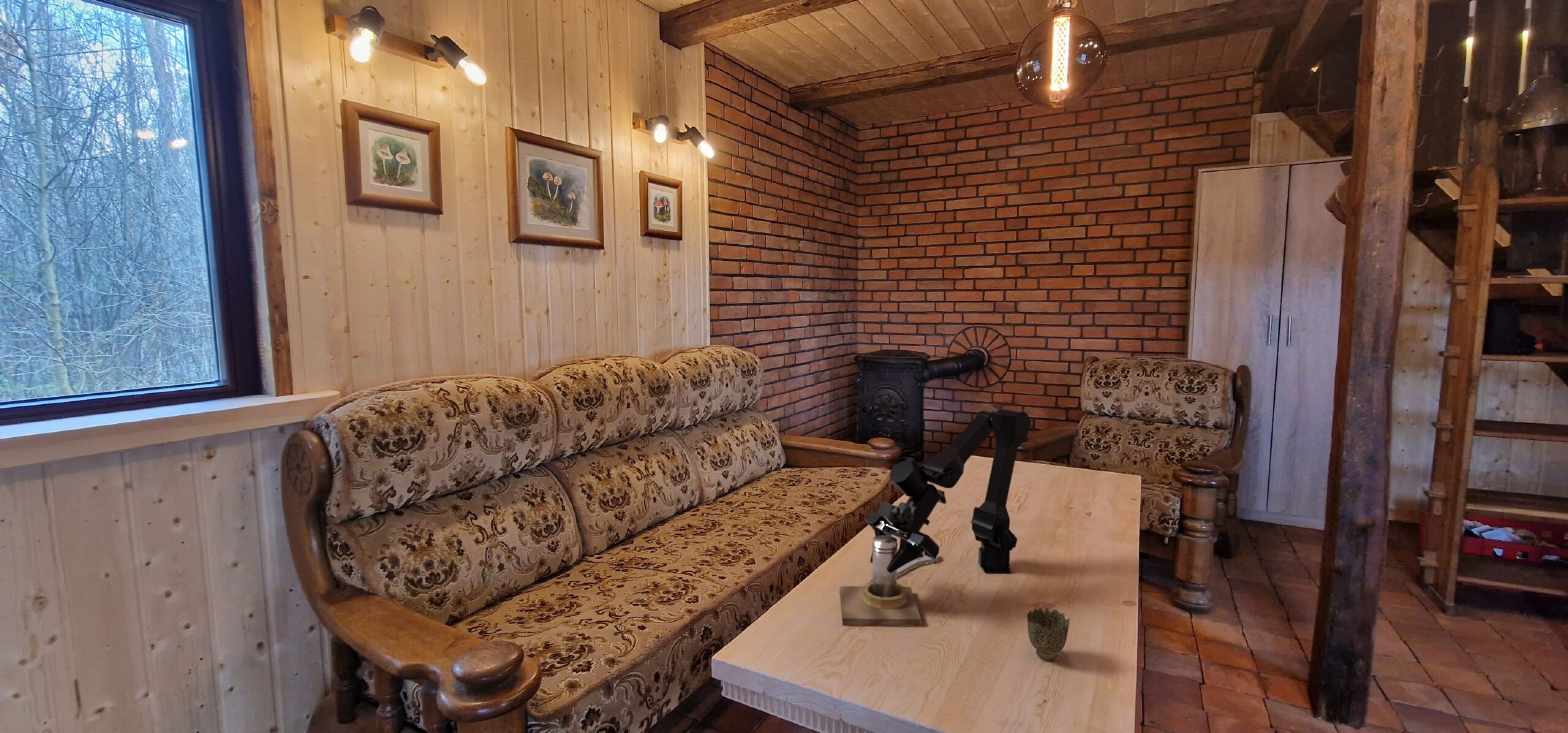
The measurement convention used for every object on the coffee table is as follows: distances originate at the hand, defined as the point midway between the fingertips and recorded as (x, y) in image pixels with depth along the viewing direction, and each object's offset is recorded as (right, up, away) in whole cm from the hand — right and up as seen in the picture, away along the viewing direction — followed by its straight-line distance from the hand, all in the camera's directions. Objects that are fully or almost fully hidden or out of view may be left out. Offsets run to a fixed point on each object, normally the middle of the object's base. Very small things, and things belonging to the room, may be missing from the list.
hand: (880, 567), depth 145 cm
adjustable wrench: (+8, -7, +20) cm, 23 cm away
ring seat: (0, -9, 0) cm, 9 cm away
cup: (+28, -11, -19) cm, 36 cm away
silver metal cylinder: (+1, -6, +1) cm, 7 cm away
